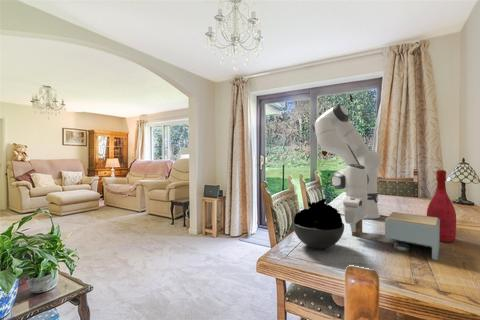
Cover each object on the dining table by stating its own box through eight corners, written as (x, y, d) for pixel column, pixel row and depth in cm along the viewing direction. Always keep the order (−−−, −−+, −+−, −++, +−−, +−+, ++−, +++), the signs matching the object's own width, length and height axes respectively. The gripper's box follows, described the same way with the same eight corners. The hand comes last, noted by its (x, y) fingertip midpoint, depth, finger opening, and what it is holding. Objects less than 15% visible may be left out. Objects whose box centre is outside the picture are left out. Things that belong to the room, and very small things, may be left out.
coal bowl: (315, 261, 84) (314, 208, 84) (283, 242, 103) (282, 199, 102) (356, 251, 92) (356, 203, 92) (319, 235, 111) (319, 195, 110)
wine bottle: (449, 236, 107) (449, 169, 106) (461, 244, 98) (461, 170, 97) (422, 234, 110) (423, 169, 110) (432, 241, 101) (432, 170, 100)
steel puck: (392, 250, 93) (392, 245, 93) (395, 246, 97) (395, 241, 97) (408, 253, 90) (408, 248, 90) (410, 249, 94) (410, 244, 94)
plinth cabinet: (385, 248, 95) (384, 218, 94) (391, 238, 105) (391, 211, 105) (437, 260, 84) (437, 225, 84) (439, 248, 94) (439, 217, 94)
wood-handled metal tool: (351, 235, 110) (351, 220, 110) (354, 233, 113) (354, 218, 113) (396, 244, 99) (396, 227, 98) (398, 242, 101) (398, 225, 101)
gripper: (356, 195, 120) (356, 223, 120) (341, 202, 105) (341, 233, 105) (370, 197, 116) (370, 225, 116) (357, 204, 101) (357, 236, 101)
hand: (356, 229), depth 110 cm, fingers open, 7 cm apart
